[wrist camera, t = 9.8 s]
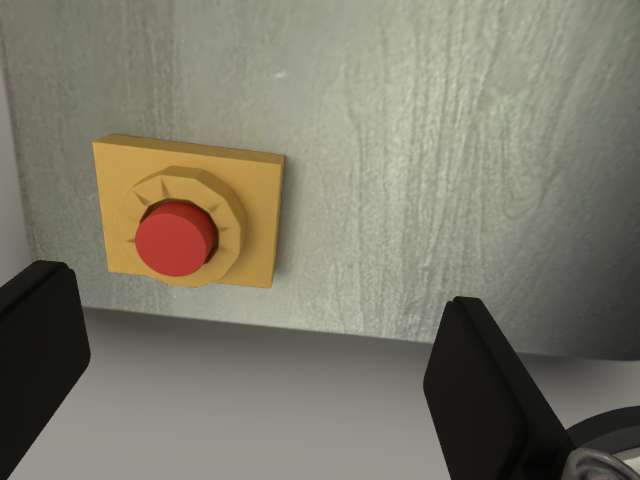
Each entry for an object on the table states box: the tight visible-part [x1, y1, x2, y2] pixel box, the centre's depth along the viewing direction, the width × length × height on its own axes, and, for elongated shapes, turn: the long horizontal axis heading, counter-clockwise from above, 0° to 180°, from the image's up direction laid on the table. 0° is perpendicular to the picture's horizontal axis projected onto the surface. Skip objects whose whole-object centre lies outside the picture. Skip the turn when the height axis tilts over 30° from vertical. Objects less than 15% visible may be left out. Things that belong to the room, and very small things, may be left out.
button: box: [135, 202, 215, 277], centre depth 21 cm, size 4×4×2 cm
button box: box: [93, 134, 285, 288], centre depth 23 cm, size 10×8×4 cm
